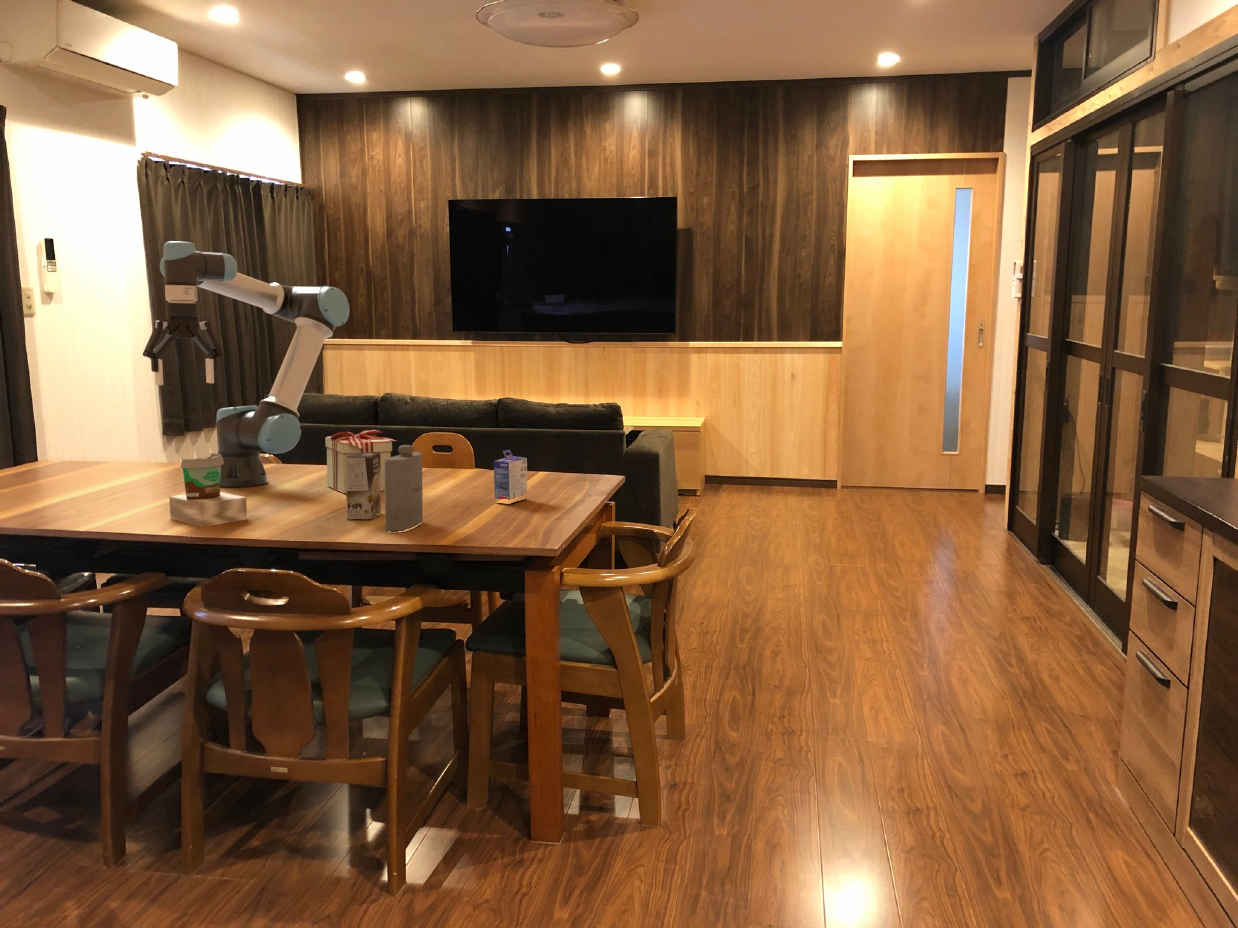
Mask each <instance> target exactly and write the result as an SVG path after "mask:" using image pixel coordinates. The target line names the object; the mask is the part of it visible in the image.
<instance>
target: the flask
mask: <svg viewBox="0 0 1238 928" xmlns="http://www.w3.org/2000/svg"><path fill="white" fill-rule="evenodd" d="M414 448H415V447H414V446H413V445H412V444H411V445H409V444H403V445H399V446H398V453H399V454H398V455H394V456H391V457H390V458H386V459H385V460H384V463H385V491H384V516H385V517H384V523H385V524H384V526H385V528H384V530H385V532H387V531H390V532H398V531H404V530H406V529H409V528H412V527H414V526H416V525H418V524H419V523H421V522H422V520H423V519H424V518H423V454H422V453H421V452H419V451H415V450H414ZM422 523H423V522H422Z"/></svg>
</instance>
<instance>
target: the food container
mask: <svg viewBox="0 0 1238 928" xmlns="http://www.w3.org/2000/svg"><path fill="white" fill-rule="evenodd" d="M180 462H181V463H180V469H182V473H183V480H184V489H185V494H186V498H187V500H199V499H210V498H215V497H218V496H220V492H221V486H220V482H221V465H222V464H224V461H223V458H222V457H221V455H220V454H218V453H210V455H209V456H208V457H203V458H202V457H197V458H195V459H193V458H192V459H187V458H185V459H181V461H180Z"/></svg>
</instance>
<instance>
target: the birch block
mask: <svg viewBox="0 0 1238 928" xmlns="http://www.w3.org/2000/svg"><path fill="white" fill-rule="evenodd" d="M247 509H248V508H247V497H246V496H244V495H243V496H242V495H238V494H234V493H229V492H225V491H220V496H218V497H215V498H210V499H199V500H187V498H186V493H185V494H180V495H172V496H169V515H170V516H169V517H170V519H171V520H174V521H177V520H178V522H182V523H185V524H188V523H189V525H192V526H196V527H200V528H203V527H208V526H209V527H210V526H215V525H216V526H217V525H221V524H227V523H233V522H238V521H239V522H240V521H245V520H248V511H247Z"/></svg>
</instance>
